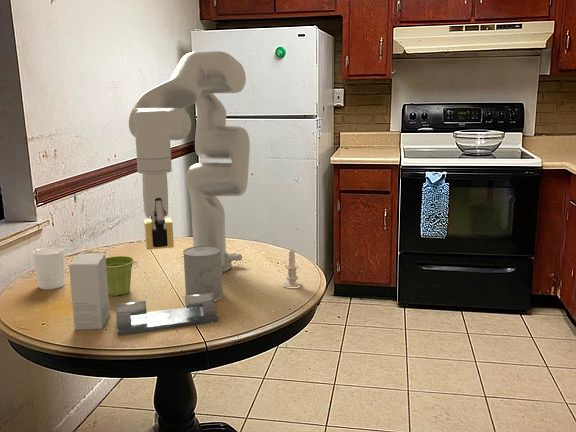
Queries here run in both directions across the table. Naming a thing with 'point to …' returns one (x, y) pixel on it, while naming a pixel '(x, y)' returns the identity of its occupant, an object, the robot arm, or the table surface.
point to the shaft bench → (165, 315)
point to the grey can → (203, 270)
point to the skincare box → (89, 291)
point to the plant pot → (119, 274)
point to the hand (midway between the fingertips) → (159, 242)
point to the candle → (292, 271)
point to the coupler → (149, 238)
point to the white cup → (49, 267)
